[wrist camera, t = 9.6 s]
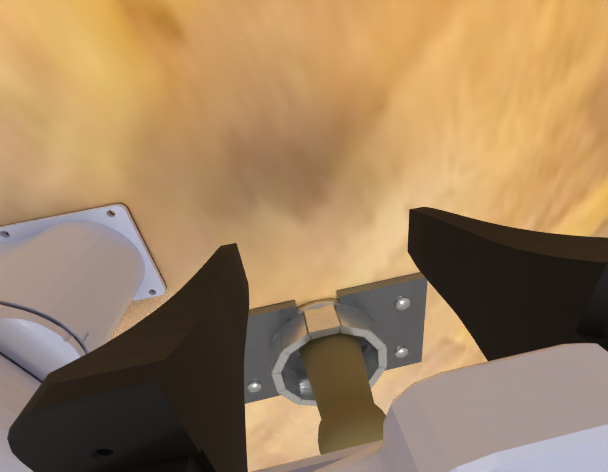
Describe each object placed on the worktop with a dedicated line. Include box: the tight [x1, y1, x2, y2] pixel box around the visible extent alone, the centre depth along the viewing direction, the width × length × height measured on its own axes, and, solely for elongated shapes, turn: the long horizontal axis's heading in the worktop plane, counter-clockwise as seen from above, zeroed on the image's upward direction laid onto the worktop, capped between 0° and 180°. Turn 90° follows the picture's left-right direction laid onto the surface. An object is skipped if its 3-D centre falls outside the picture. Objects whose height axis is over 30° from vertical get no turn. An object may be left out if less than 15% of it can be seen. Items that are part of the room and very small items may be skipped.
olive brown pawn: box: [299, 333, 386, 455], centre depth 23 cm, size 6×6×11 cm
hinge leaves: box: [244, 273, 427, 406], centre depth 28 cm, size 21×12×4 cm, turn 99°
